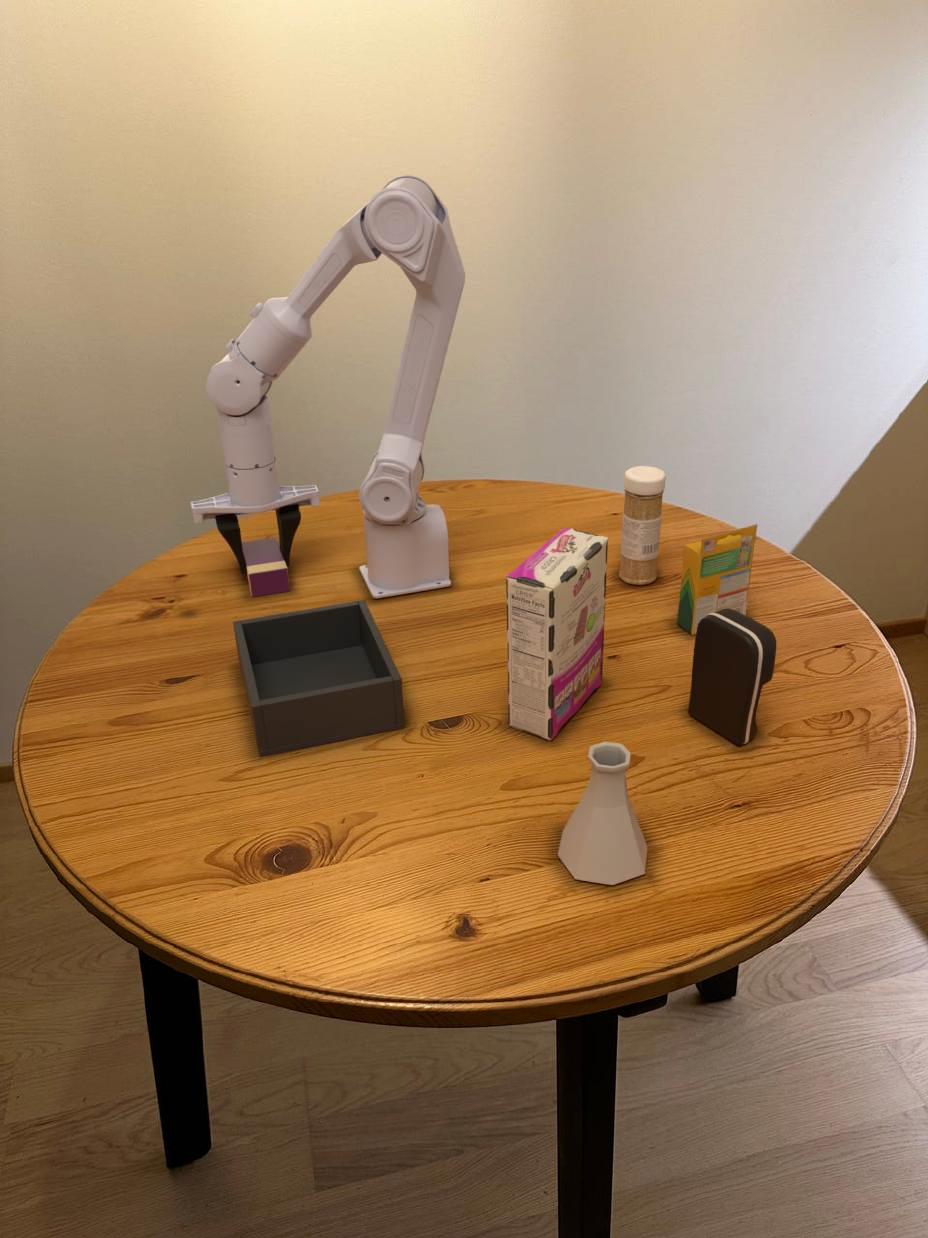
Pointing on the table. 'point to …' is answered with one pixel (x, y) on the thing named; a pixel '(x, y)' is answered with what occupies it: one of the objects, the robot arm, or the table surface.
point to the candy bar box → (555, 631)
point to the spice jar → (641, 524)
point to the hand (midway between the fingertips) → (264, 566)
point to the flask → (604, 823)
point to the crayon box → (715, 576)
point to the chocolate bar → (265, 567)
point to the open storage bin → (317, 677)
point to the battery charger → (730, 672)
